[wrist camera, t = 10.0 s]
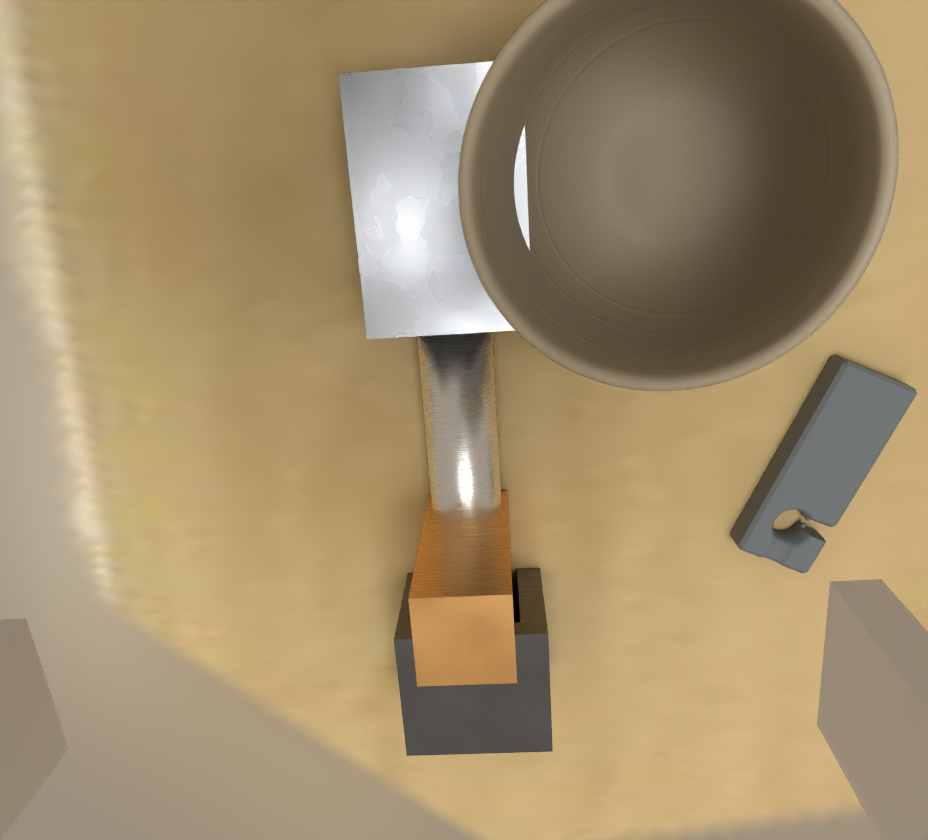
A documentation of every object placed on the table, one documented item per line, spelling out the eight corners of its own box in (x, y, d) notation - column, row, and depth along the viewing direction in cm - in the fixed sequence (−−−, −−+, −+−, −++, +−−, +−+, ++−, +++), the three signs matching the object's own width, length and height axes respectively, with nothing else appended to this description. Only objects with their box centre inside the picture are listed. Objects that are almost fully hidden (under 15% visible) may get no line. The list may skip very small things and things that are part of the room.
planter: (697, 371, 34) (685, 466, 24) (483, 207, 34) (388, 236, 25) (918, 130, 28) (1017, 128, 19) (657, -63, 29) (622, -161, 19)
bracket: (899, 380, 36) (922, 391, 34) (792, 558, 39) (807, 577, 37) (827, 350, 36) (846, 360, 34) (725, 532, 39) (737, 549, 37)
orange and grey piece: (412, 304, 35) (382, 350, 26) (496, 299, 35) (498, 343, 25) (442, 649, 41) (427, 791, 31) (515, 646, 41) (522, 788, 31)
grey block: (361, 90, 32) (338, 73, 28) (517, 77, 32) (522, 58, 27) (384, 317, 36) (367, 339, 31) (527, 308, 35) (533, 329, 30)
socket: (408, 573, 40) (394, 639, 34) (539, 567, 39) (548, 633, 34) (418, 676, 42) (407, 755, 36) (544, 672, 41) (552, 751, 36)
